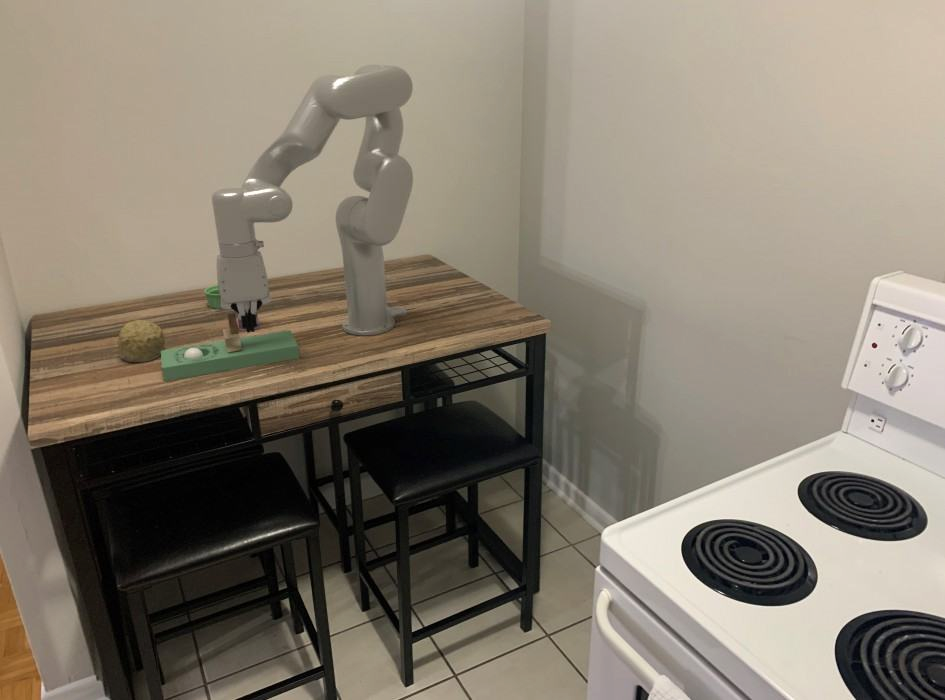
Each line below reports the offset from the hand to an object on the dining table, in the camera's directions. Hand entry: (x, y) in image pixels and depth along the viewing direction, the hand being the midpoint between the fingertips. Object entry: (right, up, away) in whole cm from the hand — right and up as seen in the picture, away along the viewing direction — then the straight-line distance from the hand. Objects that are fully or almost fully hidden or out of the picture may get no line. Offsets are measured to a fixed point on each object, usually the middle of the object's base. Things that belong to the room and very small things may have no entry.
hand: (250, 330), depth 160 cm
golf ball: (-11, -6, -3) cm, 13 cm away
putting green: (-4, -7, +1) cm, 8 cm away
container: (-6, +1, +19) cm, 20 cm away
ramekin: (-18, +8, +36) cm, 41 cm away
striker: (-4, -4, 0) cm, 5 cm away
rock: (-26, -6, +5) cm, 27 cm away
